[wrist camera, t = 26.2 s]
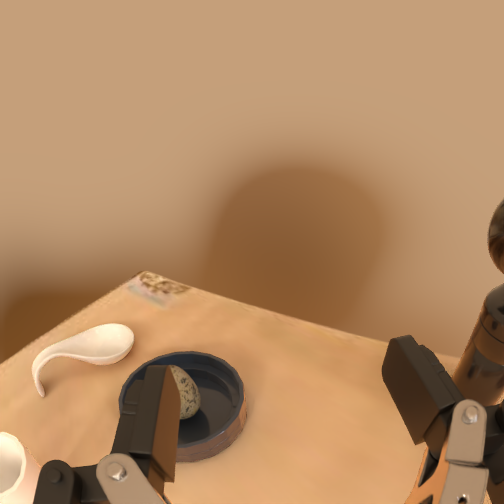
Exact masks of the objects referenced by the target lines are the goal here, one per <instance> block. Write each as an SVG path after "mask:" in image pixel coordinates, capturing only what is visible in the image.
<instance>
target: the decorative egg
mask: <svg viewBox="0 0 504 504" xmlns="http://www.w3.org/2000/svg"><path fill="white" fill-rule="evenodd" d="M169 366H170V368H171V370H172V373H173V376H174V379H175V381H176V384H177V387H178V389H179V392H180V397H181V411H180V419H187V418H190V417H192V416H193V415H195V413H196V412H197V411H198V409H199V407H200V401H201V399H200V393H199V390H198V388H197V386H196V384H195V383H194V381H193V380H192V378H191V377H190V376H189V375H188V374H187V373H186V372H185V371H184V370H183V369H181V368H179V367H178V366H175V365H169Z"/></svg>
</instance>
